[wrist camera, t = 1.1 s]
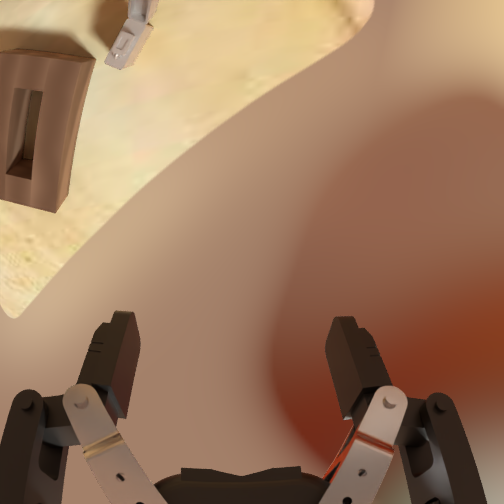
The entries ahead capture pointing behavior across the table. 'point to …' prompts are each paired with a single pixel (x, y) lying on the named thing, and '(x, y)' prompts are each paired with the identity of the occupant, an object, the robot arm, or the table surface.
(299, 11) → the table surface
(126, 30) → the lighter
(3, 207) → the table surface
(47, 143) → the slot stand
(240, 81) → the table surface
